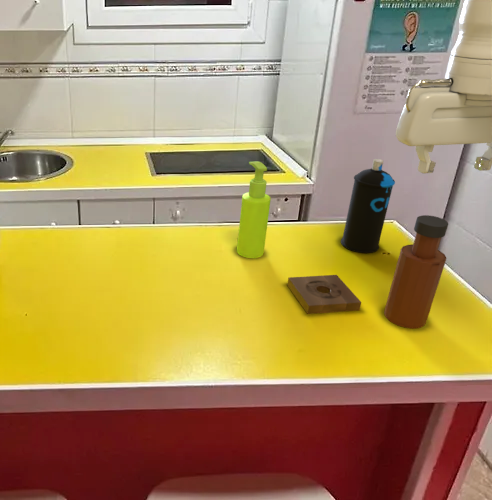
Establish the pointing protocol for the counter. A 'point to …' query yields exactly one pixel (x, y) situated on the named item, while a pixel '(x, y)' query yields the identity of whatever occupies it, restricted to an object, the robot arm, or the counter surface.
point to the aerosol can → (367, 209)
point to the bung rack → (323, 294)
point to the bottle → (415, 282)
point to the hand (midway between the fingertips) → (453, 170)
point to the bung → (431, 226)
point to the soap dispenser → (254, 216)
